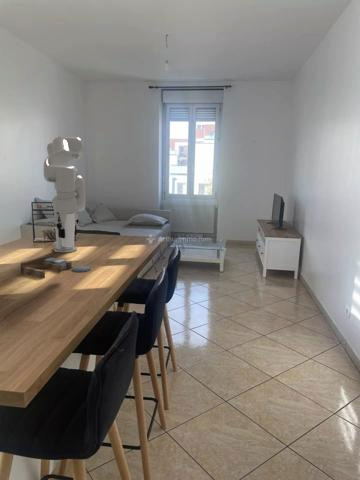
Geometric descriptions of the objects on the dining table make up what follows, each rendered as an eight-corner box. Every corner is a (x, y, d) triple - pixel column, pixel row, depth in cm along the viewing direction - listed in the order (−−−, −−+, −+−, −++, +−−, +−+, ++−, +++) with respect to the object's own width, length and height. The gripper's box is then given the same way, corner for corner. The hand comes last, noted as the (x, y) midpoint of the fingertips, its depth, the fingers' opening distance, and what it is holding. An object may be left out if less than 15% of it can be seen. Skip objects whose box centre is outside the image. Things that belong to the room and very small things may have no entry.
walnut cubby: (21, 273, 160) (20, 262, 159) (51, 263, 176) (51, 254, 175) (42, 278, 154) (41, 267, 153) (71, 267, 170) (71, 257, 169)
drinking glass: (79, 245, 159) (77, 212, 156) (69, 248, 153) (68, 214, 150) (66, 243, 161) (65, 211, 158) (56, 246, 155) (55, 213, 152)
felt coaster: (67, 270, 166) (67, 269, 166) (80, 265, 174) (80, 264, 174) (82, 273, 162) (82, 272, 162) (94, 268, 170) (94, 267, 170)
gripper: (73, 193, 161) (75, 231, 165) (43, 196, 146) (46, 238, 150) (86, 194, 158) (87, 233, 162) (57, 198, 143) (59, 241, 147)
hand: (67, 235), depth 156 cm, fingers closed on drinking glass, 6 cm apart
